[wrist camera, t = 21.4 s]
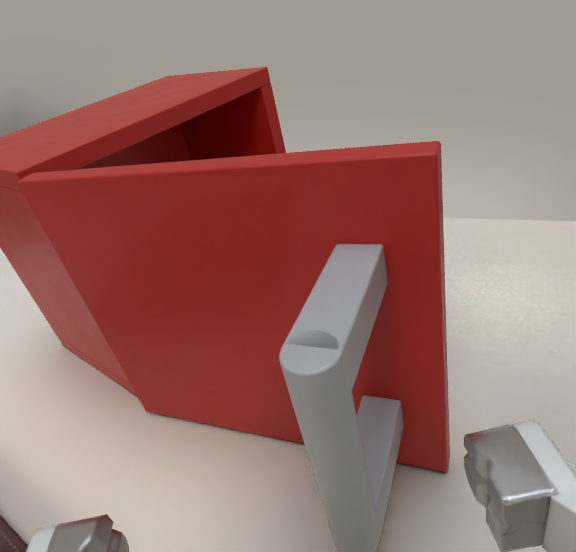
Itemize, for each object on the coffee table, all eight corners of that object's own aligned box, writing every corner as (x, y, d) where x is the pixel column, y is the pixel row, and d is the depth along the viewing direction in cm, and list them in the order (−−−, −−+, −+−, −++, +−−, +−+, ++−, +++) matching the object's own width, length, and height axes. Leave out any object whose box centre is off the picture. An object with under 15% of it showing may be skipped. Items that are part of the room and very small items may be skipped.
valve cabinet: (309, 259, 38) (267, 66, 30) (144, 402, 28) (15, 172, 20) (221, 237, 45) (167, 76, 37) (63, 346, 35) (-57, 158, 27)
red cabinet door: (431, 622, 16) (399, 277, 8) (77, 503, 23) (-126, 256, 15) (449, 453, 21) (440, 139, 13) (155, 398, 28) (33, 172, 20)
